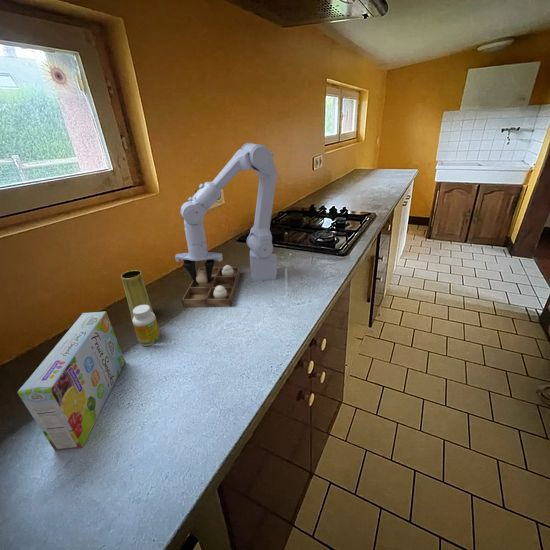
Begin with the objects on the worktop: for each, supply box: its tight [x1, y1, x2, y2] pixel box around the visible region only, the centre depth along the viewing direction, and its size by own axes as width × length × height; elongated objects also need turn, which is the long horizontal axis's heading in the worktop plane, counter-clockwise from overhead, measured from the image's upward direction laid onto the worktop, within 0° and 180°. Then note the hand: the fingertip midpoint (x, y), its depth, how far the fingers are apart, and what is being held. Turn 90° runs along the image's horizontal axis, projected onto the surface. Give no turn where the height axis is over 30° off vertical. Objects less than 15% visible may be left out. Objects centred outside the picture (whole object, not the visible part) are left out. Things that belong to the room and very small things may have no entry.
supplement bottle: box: [132, 305, 161, 347], centre depth 77 cm, size 5×5×10 cm
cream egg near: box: [213, 285, 227, 299], centre depth 93 cm, size 4×4×5 cm
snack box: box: [17, 310, 126, 451], centre depth 59 cm, size 21×6×15 cm, turn 5°
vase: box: [120, 269, 154, 322], centre depth 85 cm, size 6×6×14 cm
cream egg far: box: [222, 264, 234, 276], centre depth 105 cm, size 4×4×5 cm
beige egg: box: [196, 270, 208, 286], centre depth 98 cm, size 4×4×5 cm
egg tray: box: [181, 266, 242, 308], centre depth 100 cm, size 15×22×3 cm
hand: (202, 280), depth 99 cm, fingers closed on beige egg, 4 cm apart
